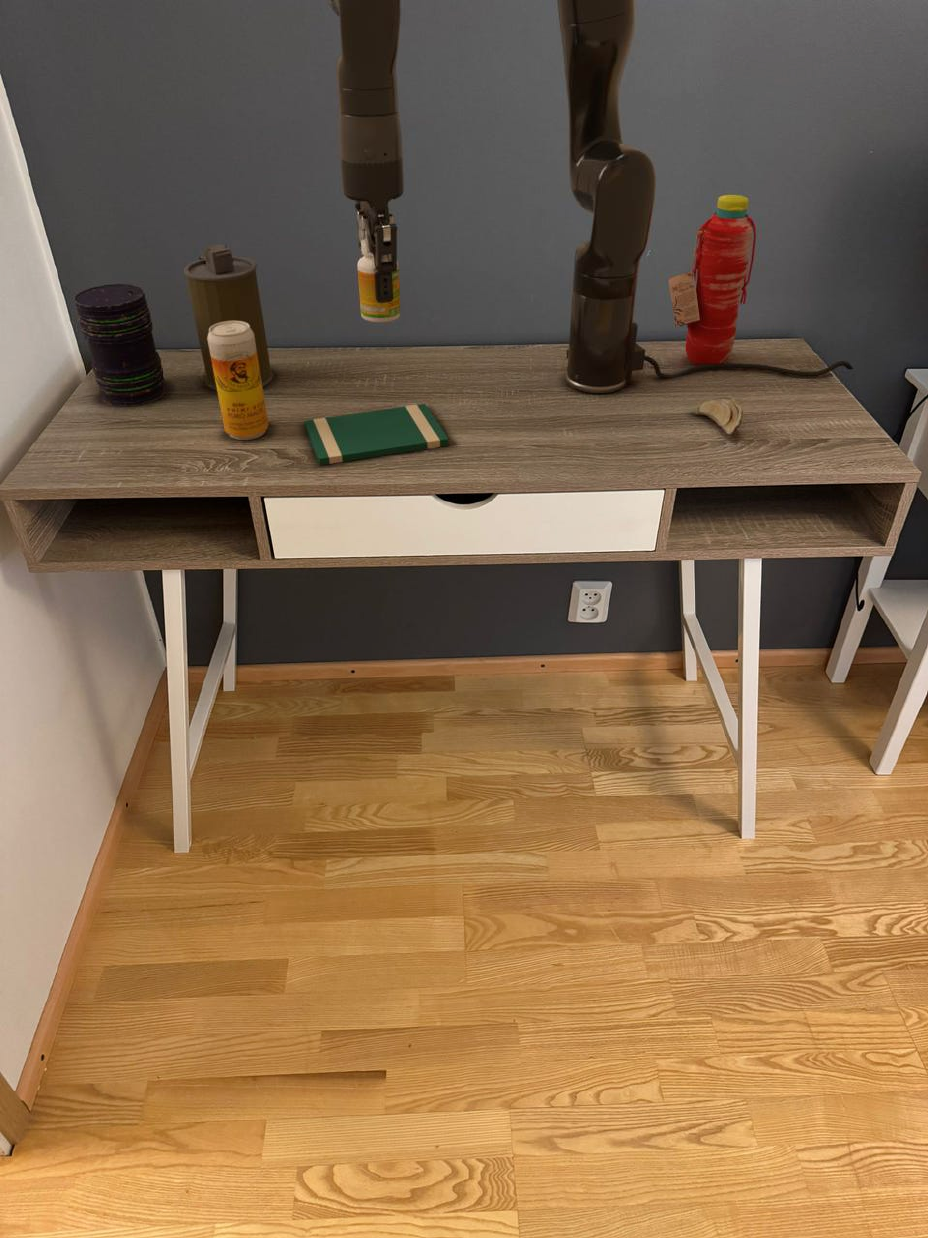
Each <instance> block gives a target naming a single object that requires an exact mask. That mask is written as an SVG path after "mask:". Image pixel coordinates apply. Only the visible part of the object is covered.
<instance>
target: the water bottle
mask: <svg viewBox="0 0 928 1238" xmlns="http://www.w3.org/2000/svg"><path fill="white" fill-rule="evenodd" d="M748 207H749V198H748V197H745V196H744V195H739V194H725V195H722V196H719V197H718V199H717V207H716V212H713V213H712V215H711V217H710V218H708V219H707V220H706V221H705V222H704V223H703V224H702V225H701V226H700V228H699V229H698V230H696V232H695V235H696V237H695V241H694V248H693V254H692V261H691V270H690V271H687V272H685V273H682V274H679V275H676V276H673V277H671V278H668V286H669V292H670V293H669V294H670V301H671V309H672V315H673V322H674V328H676V327H683V326H686V328H687V332H686V339H685V345H684V347H685V354H686V357H687V360H688V361H689V362H690V363H691V364H693V365H694V366H698V365H703V364H717V363H727V361H728V359H729V358H730V355H731V354H732V351H733V349H734V343H735V339H736V332H737V323H738V313H739V305H740V304H742V305H746V301H747V300H746V299H747V288H746V287H747V286H748V285H749V283H750V281H751V274H752V270H753V264H754V258H755V249H756V240H757V232H756V231H757V230H756V225H755V222H754V220H753V219H752V218H751V217H750V216H749V214H748V213H747V211H748ZM750 256H751V260H750ZM749 262H750V264H749ZM748 267H749V270H748ZM747 272H748V273H747ZM747 275H748V276H747Z"/></svg>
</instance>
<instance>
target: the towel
mask: <svg viewBox="0 0 928 1238" xmlns="http://www.w3.org/2000/svg"><path fill="white" fill-rule="evenodd" d="M303 423H304V425H303V426H304V428H305V431H306V433H307V437H308V439H309V441H310V444H311V446H312V448H313V451H314V454H315V456H316V459H317V461H318V465H319V466H324V465H331V464H339V463H344V462H350V461H351V462H352V461H356V460H363V459H369V458H376V457H382V456H389V455H394V454H395V455H396V454H402V453H409V452H415V451H422V450H429V449H436V448H440V447H448V446H449V445H450V439H449V437H448V435H447V434H446V433H445V431H444V430H443V428H442V426H441V425H440V423H439V422H438V420H437V419H436V417H435V416H434V415H433V413H432V412H431V410H430V408H429V407H428V405H427V403H418V404H411V405H410V404H409V405H404V406H398V407H391V408H385V409H377V410H371V411H370V410H369V411H362V412H356V413H349V414H342V415H334V416H328V417H320V418H313V419H306V420H303Z"/></svg>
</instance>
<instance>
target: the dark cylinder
mask: <svg viewBox="0 0 928 1238" xmlns="http://www.w3.org/2000/svg"><path fill="white" fill-rule="evenodd" d="M73 300H74V303H75V306H76V311H77V314H78V321H79V325H80V327H81V330H82V332H81V333H82V335H83V337H84V339H85V340H86V342H87V344H88V348H89V351H90V355H91V359H92V362H91V368H92V372H93V373H94V379H95V382H96V385H97V386H98V389H99V391H100V398H101V399H102V401H103V403H105V404H108V405H110V406H115V407H135V406H142V405H146V404H149V403H152V402H154V401H157V400H159V399H160V398H162V397H163V396H164V395H165V394H166V392H167V386H166V383H165V376H164V368H163V365H162V358H161V356H160V354H159V353H158V351H157V349H156V344H155V340H154V336H153V330H154V328H153V322H152V318H151V312H150V308H149V307H148V303H147V300H146V294H145V290H144V288H142V287H140V286H139V285H134V284H130V283H129V284H126V283H114V284H105V285H103V284H102V285H98V286H93V287H90V288H86V289H84V290H82V291H80V292H78V293H76V294H75V296H74V297H73Z"/></svg>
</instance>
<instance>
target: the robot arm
mask: <svg viewBox="0 0 928 1238" xmlns="http://www.w3.org/2000/svg"><path fill="white" fill-rule="evenodd" d="M401 1H402V0H327V2H328V4H329V6H330V8H331V10H332V11H333V13H335V15H337V17H339V27H340V28H339V29H340V30H339V31H340V47H341V52H340V53H341V54H340V57H339V59H338V61H337V66H336V85H337V86H336V87H337V99H338V101H337V102H338V111H339V114H338V115H339V123H338V140H339V153H340V154H339V155H340V165H341V166H340V167H341V178H342V192H343V195H344V196H345V197H346V198H347V199H349V200H351V201H355V203H354V209H355V216H356V225H357V235H358V247H359V249H360V251H361V241H362V240H364V239H366V246H367V252H368V254H369V255H371V256H372V262H373V271H374V279H375V295H376V300H377V302H379V303H386V302H391V301H392V300H393V282H392V272H394V271H397V261H398V226H397V224H396V223H395V221H394V214H393V213H392V212H391V213H390V208H389V207H390V206H389V202H390V201H392V200H397V199H399V198H401V197H402V196H403V195H404V189H405V188H404V187H405V186H404V165H403V161H404V160H403V137H402V128H401V121H400V114H399V113H400V112H399V88H398V86H399V85H398V76H397V60H398V53H399V43H400V29H401V16H402V15H401V12H402V2H401ZM556 3H557V12H558V21H559V31H560V36H561V45H562V55H563V64H564V76H565V86H566V95H567V104H568V139H569V140H568V143H569V145H568V147H569V148H568V149H569V150H568V151H569V155H568V157H569V158H568V159H569V161H568V163H569V165H568V166H569V167H568V168H569V183H570V184H569V185H570V189H571V193H572V196H573V197H574V199H575V201H576V203H577V204H578V205H579V206H580V207H581V208H582V209H583V210H585V211H587V212H589V213H590V214H593V217H592V225H591V233H590V239H589V240H587V241H585V242H582V243H580V244H579V245H578V246H577V247H576V250H575V253H574V265H573V278H572V279H573V280H572V296H571V310H570V323H569V324H570V325H569V337H568V349H566V359H567V365H566V372H565V383H566V384H567V385H568V386H570V388H572V389H575V390H577V391H579V392H584V393H588V394H609V393H614V392H618V391H620V390H622V389H624V388H625V387H627V386H631V385H632V380H633V372H636V371H643V370H644V364H645V362H648V364H651V365H652V367H653V368H654V372H655V375H656V376H657V377H658V378H660V379H662V380H670V379H675V378H679V377H683V376H687V375H689V374H692V373H695V372H698V371H702V370H711V369H712V370H713V369H744V370H745V369H746V370H758V371H768V372H773V373H778V374H784V375H789V376H795V377H806V378H808V377H809V378H813V377H820V376H824V375H826V374H828V373H831V372H832V371H835V370H836V369H837V368H839V367H845V369H847V370H853V369H854V367H853V365H852V364H851V363H850V362H848V361H846V360H839V361H837V362H835V363H833V364H831V365H829V366H828V367H826V368H823V369H820V370H816V371H815V370H814V371H807V370H806V371H804V370H803V371H802V370H794V369H788V368H784V367H778V366H775V365H774V366H773V365H766V364H757V363H743V362H742V363H736V362H725V363H717V364H703V365H698V366H697V365H694V366H692V367H689V368H687V369H685V370H683V371H680V372H678V373H675V374H665V373H664V372H663V373H662V371H661V368H660V365H659V363H658V361H656V359H654V358H652V357H650V356H648V355H646V349H644V348H643V347H642V346H640V345H639V344H638V343H637V335H638V327H639V326H638V324H637V322H636V321H634V313H635V305H636V295H637V286H638V278H639V268H640V261H641V259H642V257H643V254H644V253H645V251H646V249H647V245H648V241H649V236H650V230H651V224H652V217H653V211H654V204H655V197H656V190H657V189H656V188H657V176H656V175H657V174H656V170H655V165H654V163H653V161H652V159H651V158H650V156H649V155H648V154H647V153H646V152H644V151H642V150H640V149H638V148H636V147H632V146H629V145H626V144H624V142H623V137H622V136H623V135H622V130H621V121H620V120H621V119H620V107H619V106H620V105H619V104H620V102H619V100H620V98H619V97H620V87H621V81H622V77H623V73H624V69H625V66H626V63H627V59H628V57H629V53H630V51H631V46H632V42H633V38H634V32H635V28H636V27H635V25H636V2H635V0H556ZM375 244H376V247H375V246H373V245H375ZM382 255H387V261H388V262H381V257H382ZM361 256H362V257H364V255H363V254H362V253H361Z"/></svg>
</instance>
